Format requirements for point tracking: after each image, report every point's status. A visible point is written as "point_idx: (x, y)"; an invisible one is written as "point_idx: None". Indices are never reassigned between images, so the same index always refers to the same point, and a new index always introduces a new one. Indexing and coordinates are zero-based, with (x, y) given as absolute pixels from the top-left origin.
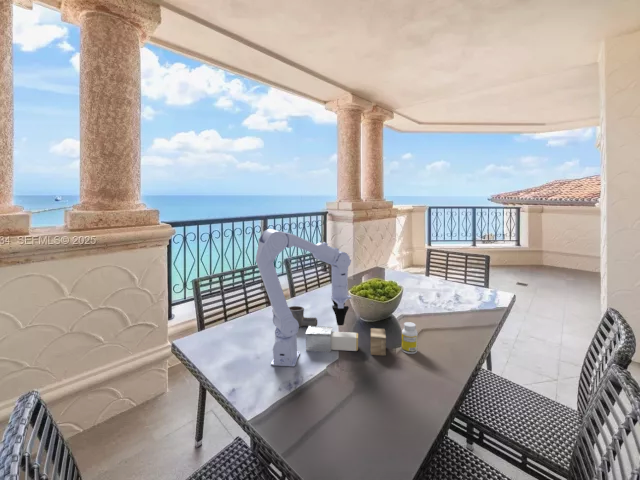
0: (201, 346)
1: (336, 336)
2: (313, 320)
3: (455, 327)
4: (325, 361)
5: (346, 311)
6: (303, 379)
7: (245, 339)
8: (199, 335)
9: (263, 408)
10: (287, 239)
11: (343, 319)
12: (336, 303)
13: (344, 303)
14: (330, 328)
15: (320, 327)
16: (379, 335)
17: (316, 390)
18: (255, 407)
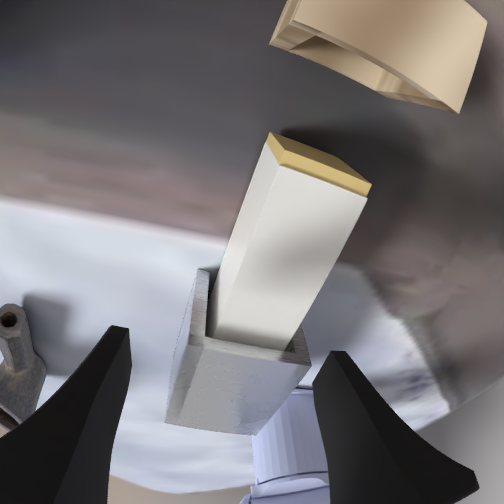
0: (184, 483)
1: (300, 320)
2: (17, 342)
3: None
4: (359, 318)
5: (450, 463)
6: (414, 368)
7: (149, 453)
8: (136, 481)
9: (443, 404)
10: None
11: (370, 398)
12: (100, 493)
13: (72, 460)
14: (213, 357)
15: (188, 393)
16: (454, 36)
17: (465, 341)
18: (433, 413)
